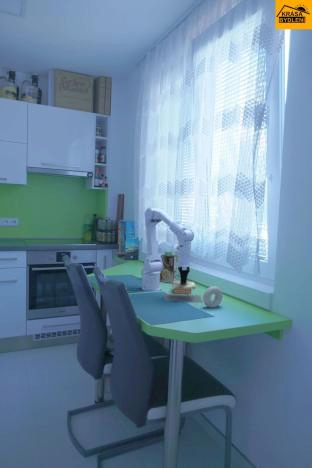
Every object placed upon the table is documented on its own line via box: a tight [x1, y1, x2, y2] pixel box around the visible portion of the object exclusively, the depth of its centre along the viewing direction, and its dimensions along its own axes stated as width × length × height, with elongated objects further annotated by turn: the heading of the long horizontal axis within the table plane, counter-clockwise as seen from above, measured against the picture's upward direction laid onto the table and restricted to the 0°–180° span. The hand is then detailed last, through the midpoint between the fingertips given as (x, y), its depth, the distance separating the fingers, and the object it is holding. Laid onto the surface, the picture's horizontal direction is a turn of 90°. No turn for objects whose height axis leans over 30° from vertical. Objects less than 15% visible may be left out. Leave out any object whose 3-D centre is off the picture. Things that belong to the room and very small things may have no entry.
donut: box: [202, 285, 224, 309], centre depth 152 cm, size 10×3×10 cm, turn 117°
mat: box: [163, 293, 203, 303], centre depth 166 cm, size 18×13×1 cm
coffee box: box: [159, 254, 178, 284], centre depth 205 cm, size 9×6×16 cm
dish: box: [173, 280, 192, 295], centre depth 179 cm, size 9×9×5 cm
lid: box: [171, 277, 196, 290], centre depth 165 cm, size 11×11×5 cm
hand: (183, 282), depth 165 cm, fingers closed on lid, 3 cm apart
